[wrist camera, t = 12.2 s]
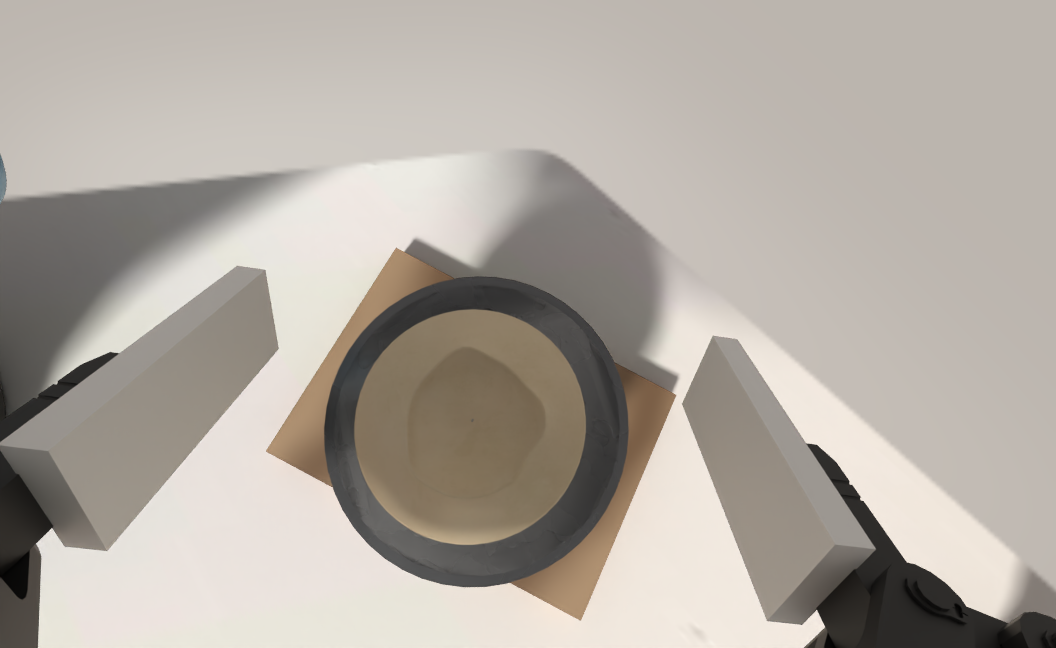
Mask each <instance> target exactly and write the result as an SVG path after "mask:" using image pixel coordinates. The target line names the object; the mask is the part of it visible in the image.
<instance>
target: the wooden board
mask: <svg viewBox="0 0 1056 648" xmlns="http://www.w3.org/2000/svg"><path fill="white" fill-rule="evenodd" d="M452 279H455V278H453V277H451V276H449V275H447V274H445V273H443V272H441V271H439V270H437V269H436V268H434V267H432V266H430V265H428V264H426V263H424V262H422V261H420V260H418V259H416V258H415V257H413V256H411V255H409V254H407V253H405V252H403V251H401V250H399V249H397V248H396V249H395V250H394V252H393V253H392V255H391V257H390V258H389V260H388V261H387V263H386V264H385V266H384V267H383V269H382V271H381V272H380V274H379V275H378V277H377V278H376V280H375V282H374V283H373V285H372V286H371V288H370V289H369V291H368V292H367V294H366V296H365V297H364V299H363V300H362V302H361V303H360V305H359V307H358V308H357V310H356V311H355V313H354V314H353V316H352V317H351V319H350V321H349V322H348V324H347V325H346V327H345V328H344V330H343V332H342V333H341V335H340V336H339V338H338V339H337V341H336V342H335V344H334V346H333V347H332V349H331V350H330V352H329V353H328V355H327V357H326V358H325V360H324V361H323V363H322V364H321V366H320V367H319V369H318V371H317V372H316V374H315V375H314V377H313V378H312V380H311V382H310V383H309V385H308V386H307V388H306V389H305V391H304V392H303V394H302V396H301V397H300V399H299V400H298V402H297V403H296V405H295V407H294V408H293V410H292V411H291V413H290V414H289V416H288V417H287V419H286V421H285V422H284V424H283V425H282V427H281V428H280V430H279V432H278V433H277V435H276V436H275V438H274V439H273V441H272V442H271V444H270V446H269V447H268V449H267V450H266V452H268V453H270V454H272V455H273V456H275V457H277V458H279V459H281V460H283V461H285V462H286V463H288V464H290V465H292V466H294V467H296V468H298V469H299V470H301V471H303V472H305V473H307V474H309V475H311V476H313V477H314V478H316V479H318V480H320V481H322V482H324V483H326V484H327V485H329V486H331V487H333V486H332V483H331V479H330V476H329V473H328V469H327V462H326V456H325V449H324V424H325V415H326V407H327V403H328V399H329V395H330V391H331V387H332V384H333V382H334V379H335V377H336V374H337V372H338V369H339V367H340V365H341V363H342V361H343V360H344V358H345V356H346V354H347V352H348V350H349V349H350V348H351V346H352V345H353V343H354V342H355V341H356V339H357V338H358V336H359V335H360V334H361V333H362V332H363V331H364V329H365V328H366V327H367V326H368V325H369V324H370V323H371V322H372V321H373V320H374V319H375V318H376V317H377V316H378V315H380V314H381V313H382V312H383V311H384V310H386V309H387V308H388V307H389V306H391V305H392V304H394V303H396V302H397V301H399V300H400V299H402V298H403V297H405V296H407V295H409V294H411V293H413V292H415V291H417V290H419V289H421V288H424V287H427V286H430V285H432V284H435V283H438V282H442V281H447V280H452ZM615 366H616V368H617V370H618V373H619V375H620V378H621V382H622V385H623V389H624V392H625V397H626V403H627V409H628V425H629V436H628V446H627V455H626V459H625V464H624V468H623V473H622V475H621V478H620V481H619V484H618V487H617V489H616V492H615V494H614V496H613V498H612V500H611V502H610V504H609V506H608V508H607V510H606V511H605V513H604V514H603V516H602V517H601V519H600V520H599V521H598V523H597V524H596V526H595V527H594V528H593V530H592V531H591V532H590V533H589V534H588V535H587V536H586V537H585V538H584V540H583V541H582V542H581V543H580V544H579V545H577V546H576V547H575V548H574V549H573V550H572V551H570V552H569V553H568V554H567V555H566V556H565V557H563V558H562V559H560V560H558V561H557V562H555V563H554V564H552V565H551V566H549V567H548V568H546V569H544V570H542V571H539V572H537V573H535V574H533V575H531V576H529V577H526V578H523V579H520V580H516V581H513V582H510V583H512V584H513V585H515V586H517V587H519V588H521V589H523V590H525V591H526V592H528V593H530V594H532V595H534V596H536V597H538V598H539V599H541V600H543V601H545V602H547V603H549V604H551V605H553V606H554V607H556V608H558V609H560V610H562V611H564V612H566V613H567V614H569V615H571V616H573V617H575V618H577V619H579V620H580V621H581V619H582V617H583V614H584V612H585V610H586V607H587V605H588V602H589V600H590V598H591V595H592V593H593V591H594V588H595V586H596V584H597V581H598V579H599V576H600V574H601V572H602V569H603V567H604V565H605V562H606V560H607V558H608V555H609V553H610V550H611V548H612V546H613V543H614V541H615V539H616V536H617V534H618V532H619V529H620V527H621V524H622V522H623V520H624V517H625V515H626V513H627V510H628V508H629V506H630V503H631V501H632V499H633V496H634V494H635V491H636V489H637V487H638V484H639V482H640V480H641V477H642V475H643V473H644V470H645V468H646V465H647V463H648V461H649V458H650V456H651V454H652V451H653V449H654V447H655V444H656V442H657V439H658V437H659V435H660V432H661V430H662V428H663V425H664V423H665V421H666V418H667V416H668V413H669V411H670V409H671V406H672V404H673V402H674V399H675V397H676V395H675V394H674V393H672V392H670V391H668V390H666V389H664V388H662V387H660V386H658V385H656V384H654V383H653V382H651V381H649V380H647V379H645V378H643V377H641V376H639V375H637V374H635V373H634V372H632V371H630V370H628V369H626V368H624V367H622V366H620V365H618V364H616V363H615Z"/></svg>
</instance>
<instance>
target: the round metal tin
mask: <svg viewBox="0 0 1056 648" xmlns="http://www.w3.org/2000/svg"><path fill="white" fill-rule="evenodd" d="M470 309H476V310H489V311H494V312H499V313H503V314H506V315H509V316H512V317H515V318H517V319H520V320H522V321H524V322H526V323H528V324H529V325H531V326H533V327H534V328H536V329H537V330H539V331H540V332H541V333H543V334H544V335H545V336H546V337H547V338H549V339H550V340H551V341H552V342H553V343H554V344H555V346H556V347H557V348H558V349H559V350H560V351H561V352H562V354H563V355H564V357H565V358H566V359H567V361H568V362H569V364H570V366H571V368H572V370H573V372H574V373H575V375H576V378H577V381H578V383H579V386H580V388H581V392H582V396H583V401H584V406H585V415H586V434H585V441H584V448H583V452H582V456H581V459H580V463H579V465H578V468H577V470H576V473H575V475H574V478H573V479H572V481H571V483H570V484H569V486H568V488H567V490H566V491H565V493H564V494H563V495H562V497H561V498H560V499H559V501H558V502H557V503H556V504H555V505H554V506H553V507H552V508H551V509H550V510H549V511H548V512H547V513H546V514H545V515H544V516H543V517H542V518H540V519H539V520H538V521H537V522H535V523H534V524H533V525H531V526H529V527H528V528H526V529H524V530H523V531H521V532H519V533H517V534H514V535H512V536H510V537H507V538H505V539H502V540H498V541H494V542H490V543H484V544H475V545H457V544H450V543H444V542H439V541H436V540H433V539H430V538H427V537H424V536H422V535H420V534H418V533H416V532H414V531H412V530H410V529H409V528H407V527H406V526H404V525H403V524H401V523H400V522H398V521H397V520H396V519H395V518H394V517H393V516H392V515H390V514H389V513H388V512H387V511H386V510H385V509H384V507H383V506H382V505H381V504H380V503H379V501H378V500H377V499H376V498H375V496H374V494H373V493H372V491H371V490H370V488H369V486H368V485H367V482H366V480H365V478H364V476H363V473H362V471H361V468H360V465H359V461H358V458H357V453H356V446H355V436H354V422H355V414H356V407H357V403H358V399H359V395H360V392H361V389H362V387H363V384H364V382H365V379H366V377H367V375H368V374H369V372H370V370H371V368H372V366H373V365H374V363H375V362H376V361H377V359H378V358H379V356H380V355H381V354H382V352H383V351H384V350H385V349H386V348H387V347H388V346H389V345H390V344H391V343H392V342H393V341H394V340H395V339H396V338H398V337H399V336H400V335H401V334H402V333H404V332H405V331H407V330H408V329H410V328H411V327H413V326H414V325H416V324H418V323H420V322H422V321H424V320H426V319H428V318H431V317H434V316H437V315H440V314H443V313H447V312H452V311H457V310H470ZM628 436H629V425H628V409H627V403H626V397H625V392H624V389H623V385H622V382H621V378H620V375H619V373H618V370H617V368H616V366H615V363H614V361H613V359H612V357H611V355H610V353H609V352H608V350H607V348H606V347H605V345H604V343H603V342H602V340H601V339H600V338H599V336H598V335H597V334H596V332H595V331H594V330H593V329H592V327H591V326H590V325H589V324H588V323H587V322H586V321H585V320H584V319H583V318H582V317H581V316H580V315H579V314H578V313H576V312H575V311H574V310H573V309H571V308H570V307H569V306H568V305H566V304H565V303H564V302H562V301H560V300H559V299H557V298H555V297H554V296H552V295H551V294H549V293H547V292H544V291H542V290H540V289H538V288H536V287H533V286H531V285H527V284H524V283H521V282H518V281H514V280H508V279H503V278H497V277H465V278H456V279H452V280H447V281H442V282H438V283H435V284H432V285H430V286H427V287H424V288H421V289H419V290H417V291H415V292H413V293H411V294H409V295H407V296H405V297H403V298H402V299H400V300H399V301H397V302H396V303H394V304H392V305H391V306H389V307H388V308H387V309H386V310H384V311H383V312H382V313H381V314H380V315H378V316H377V317H376V318H375V319H374V320H373V321H372V322H371V323H370V324H369V325H368V326H367V327H366V328H365V329H364V331H363V332H362V333H361V334H360V335H359V336H358V338H357V339H356V341H355V342H354V343H353V345H352V346H351V348H350V349H349V350H348V352H347V354H346V356H345V358H344V360H343V361H342V363H341V365H340V367H339V369H338V372H337V374H336V377H335V379H334V382H333V384H332V387H331V391H330V395H329V399H328V403H327V407H326V415H325V424H324V449H325V456H326V462H327V469H328V473H329V476H330V479H331V483H332V486H333V490H334V492H335V494H336V496H337V499H338V501H339V503H340V505H341V507H342V510H343V511H344V513H345V514H346V516H347V517H348V519H349V521H350V522H351V524H352V525H353V527H354V528H355V529H356V531H357V532H358V533H359V534H360V535H361V536H362V537H363V539H364V540H365V541H366V542H367V543H368V544H369V545H370V546H371V547H372V548H373V549H374V550H376V551H377V552H378V553H379V554H380V555H381V556H383V557H384V558H385V559H387V560H388V561H390V562H391V563H393V564H394V565H396V566H398V567H399V568H401V569H402V570H404V571H407V572H409V573H411V574H413V575H415V576H418V577H420V578H422V579H426V580H429V581H433V582H436V583H440V584H444V585H452V586H459V587H487V586H494V585H500V584H507V583H510V582H513V581H516V580H520V579H523V578H526V577H529V576H531V575H533V574H535V573H537V572H539V571H542V570H544V569H546V568H548V567H549V566H551V565H552V564H554V563H555V562H557V561H558V560H560V559H562V558H563V557H565V556H566V555H567V554H568V553H569V552H570V551H572V550H573V549H574V548H575V547H576V546H577V545H579V544H580V543H581V542H582V541H583V540H584V538H585V537H586V536H587V535H588V534H589V533H590V532H591V531H592V530H593V528H594V527H595V526H596V524H597V523H598V521H599V520H600V519H601V517H602V516H603V514H604V513H605V511H606V510H607V508H608V506H609V504H610V502H611V500H612V498H613V496H614V494H615V492H616V489H617V487H618V484H619V481H620V478H621V475H622V473H623V468H624V464H625V459H626V455H627V446H628Z"/></svg>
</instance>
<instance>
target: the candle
mask: <svg viewBox="0 0 1056 648" xmlns="http://www.w3.org/2000/svg"><path fill="white" fill-rule="evenodd" d="M585 434H586V415H585V406H584V401H583V396H582V392H581V388H580V386H579V383H578V381H577V378H576V375H575V373H574V372H573V370H572V368H571V366H570V364H569V362H568V361H567V359H566V358H565V357H564V355H563V354H562V352H561V351H560V350H559V349H558V348H557V347H556V346H555V344H554V343H553V342H552V341H551V340H550V339H549V338H547V337H546V336H545V335H544V334H543V333H541V332H540V331H539V330H537V329H536V328H534V327H533V326H531V325H529V324H528V323H526V322H524V321H522V320H520V319H517V318H515V317H512V316H509V315H506V314H503V313H499V312H494V311H489V310H476V309H470V310H457V311H452V312H447V313H443V314H440V315H437V316H434V317H431V318H428V319H426V320H424V321H422V322H420V323H418V324H416V325H414V326H413V327H411V328H410V329H408V330H407V331H405V332H404V333H402V334H401V335H400V336H399V337H398V338H396V339H395V340H394V341H393V342H392V343H391V344H390V345H389V346H388V347H387V348H386V349H385V350H384V351H383V352H382V354H381V355H380V356H379V358H378V359H377V361H376V362H375V363H374V365H373V366H372V368H371V370H370V372H369V374H368V375H367V377H366V379H365V382H364V384H363V387H362V389H361V392H360V395H359V399H358V403H357V407H356V414H355V422H354V436H355V446H356V453H357V458H358V461H359V465H360V468H361V471H362V473H363V476H364V478H365V480H366V482H367V485H368V486H369V488H370V490H371V491H372V493H373V494H374V496H375V498H376V499H377V500H378V501H379V503H380V504H381V505H382V506H383V507H384V509H385V510H386V511H387V512H388V513H389V514H390V515H392V516H393V517H394V518H395V519H396V520H397V521H398V522H400V523H401V524H403V525H404V526H406V527H407V528H409V529H410V530H412V531H414V532H416V533H418V534H420V535H422V536H424V537H427V538H430V539H433V540H436V541H439V542H444V543H450V544H457V545H475V544H484V543H490V542H494V541H498V540H502V539H505V538H507V537H510V536H512V535H514V534H517V533H519V532H521V531H523V530H524V529H526V528H528V527H529V526H531V525H533V524H534V523H535V522H537V521H538V520H539V519H540V518H542V517H543V516H544V515H545V514H546V513H547V512H548V511H549V510H550V509H551V508H552V507H553V506H554V505H555V504H556V503H557V502H558V501H559V499H560V498H561V497H562V495H563V494H564V493H565V491H566V490H567V488H568V486H569V484H570V483H571V481H572V479H573V478H574V475H575V473H576V470H577V468H578V465H579V463H580V459H581V456H582V452H583V448H584V441H585Z"/></svg>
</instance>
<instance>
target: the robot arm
mask: <svg viewBox="0 0 1056 648" xmlns="http://www.w3.org/2000/svg"><path fill="white" fill-rule="evenodd" d="M6 181H7V180H6V172H5V168H4V165H3V161H2V158H1V155H0V203H1V202H2V200H3V198H4V195H5V191H6ZM278 349H279V348H278V342H277V336H276V330H275V325H274V319H273V313H272V307H271V301H270V295H269V289H268V283H267V277H266V271H265V270H262V269H255V268H248V267H242V266H237V267H235V268H234V269H232V270H231V271H230V272H228V273H227V274H226V275H224V276H223V277H222V278H220V279H219V280H218V281H216V282H215V283H214V284H212V285H211V286H210V287H208V288H207V289H206V290H204V291H203V292H202V293H200V294H199V295H198V296H196V297H195V298H193V299H192V300H191V301H189V302H188V303H187V304H185V305H184V306H183V307H181V308H180V309H179V310H177V311H176V312H175V313H173V314H172V315H171V316H169V317H168V318H167V319H165V320H164V321H163V322H161V323H160V324H159V325H157V326H156V327H154V328H153V329H152V330H150V331H149V332H148V333H146V334H145V335H144V336H142V337H141V338H140V339H138V340H137V341H136V342H134V343H133V344H132V345H130V346H129V347H128V348H126V349H125V350H124V351H122V352H121V353H113V352H109V353H107V354H105V355H103V356H100V357H98V358H96V359H93V360H91V361H89V362H86V363H84V364H82V365H80V366H79V367H77V368H76V369H74V370H73V371H71V372H70V373H69V374H67V375H66V376H64V377H63V378H62V379H60V380H59V381H58V384H57V385H54V384H53V385H52V386H50V387H49V388H47V389H46V390H44V391H43V392H42V393H40V394H39V397H38V398H37V399H36V398H33V399H32V400H30V401H29V402H27V403H26V404H25V405H23V406H22V407H20V408H19V409H18V410H16V411H15V412H13V413H12V414H10V415H9V416H8V417H6V418H5V406H4V398H3V393H2V389H1V385H0V648H38V627H39V601H40V575H41V554H40V551H39V549H38V547H37V545H36V543H37V542H38V541H39V540H40V539H41V538H42V537H43V536H44V535H45V534H46V533H47V532H48V531H49V530H50V529H51V528H53V530H54V531H55V533H56V534H57V536H58V537H59V539H60V540H61V542H62V543H63V545H64V546H66V547H75V548H85V549H94V550H104V551H107V550H108V549H109V548H110V547H111V546H112V545H113V543H114V542H115V541H116V540H117V539H118V537H119V536H120V535H121V534H122V533H123V532H124V530H125V529H126V528H127V527H128V526H129V524H130V523H131V522H132V521H133V520H134V519H135V517H136V516H137V515H138V514H139V513H140V512H141V510H142V509H143V508H144V507H145V506H146V504H147V503H148V502H149V501H150V500H151V499H152V497H153V496H154V495H155V494H156V493H157V492H158V490H159V489H160V488H161V487H162V486H163V484H164V483H165V482H166V481H167V480H168V479H169V477H170V476H171V475H172V474H173V473H174V471H175V470H176V469H177V468H178V467H179V466H180V464H181V463H182V462H183V461H184V460H185V459H186V457H187V456H188V455H189V454H190V453H191V451H192V450H193V449H194V448H195V447H196V446H197V444H198V443H199V442H200V441H201V440H202V438H203V437H204V436H205V435H206V434H207V433H208V431H209V430H210V429H211V428H212V427H213V426H214V424H215V423H216V422H217V421H218V420H219V418H220V417H221V416H222V415H223V414H224V413H225V411H226V410H227V409H228V408H229V407H230V406H231V404H232V403H233V402H234V401H235V400H236V398H237V397H238V396H239V395H240V394H241V393H242V391H243V390H244V389H245V388H246V387H247V385H248V384H249V383H250V382H251V381H252V380H253V378H254V377H255V376H256V375H257V374H258V373H259V371H260V370H261V369H262V368H263V367H264V365H265V364H266V363H267V362H268V361H269V360H270V358H271V357H272V356H273V355H274V354H275V352H276V351H277V350H278ZM682 405H683V407H684V410H685V412H686V415H687V418H688V420H689V423H690V425H691V428H692V430H693V433H694V435H695V438H696V441H697V443H698V446H699V448H700V451H701V453H702V456H703V458H704V461H705V464H706V466H707V469H708V471H709V474H710V476H711V479H712V481H713V484H714V487H715V489H716V492H717V494H718V497H719V499H720V502H721V504H722V507H723V509H724V512H725V515H726V517H727V520H728V522H729V525H730V527H731V530H732V532H733V535H734V538H735V540H736V543H737V545H738V548H739V550H740V553H741V555H742V558H743V561H744V563H745V566H746V568H747V571H748V573H749V576H750V578H751V581H752V584H753V586H754V589H755V591H756V594H757V596H758V599H759V601H760V604H761V607H762V609H763V612H764V614H765V617H766V619H767V621H772V622H781V623H791V624H800V625H802V624H803V623H804V622H805V621H806V620H807V619H808V618H809V617H810V616H811V615H812V614H813V613H814V612H815V611H816V610H817V611H818V613H819V615H820V617H821V619H822V621H823V623H824V625H825V628H824V629H823V630H822V631H821V632H820V633H819V634H818V635H817V636H816V637H815V638H814V639H813V640H812V641H811V642H810V643H808V644H807V645H806V646H805V647H804V648H1056V620H1055V619H1053V618H1052V617H1049V616H1046V615H1043V614H1040V613H1037V612H1027V613H1023V614H1022V615H1020V616H1019V617H1017V618H1016V619H1014V620H1013V621H1011V622H1010V623H1006V622H1003V621H1001V620H998V619H996V618H993V617H991V616H988V615H986V614H983V613H981V612H979V611H976V610H974V609H971V608H969V607H966V605H965V604H964V602H963V601H962V599H961V598H960V597H959V596H958V595H957V594H956V593H955V592H954V591H953V590H952V589H951V588H950V587H949V586H948V585H947V584H946V583H945V582H943V581H942V580H941V579H939V578H938V577H937V576H935V575H934V574H932V573H931V572H929V571H927V570H925V569H923V568H921V567H919V566H917V565H915V564H911V563H907V562H906V561H905V559H904V558H903V557H902V555H901V554H900V552H899V551H898V550H897V548H896V547H895V545H894V544H893V542H892V541H891V540H890V538H889V537H888V535H887V534H886V532H885V531H884V530H883V528H882V527H881V525H880V524H879V522H878V521H877V520H876V518H875V517H874V515H873V514H872V513H871V511H870V510H869V508H868V507H867V505H866V504H865V503H864V501H861V500H860V495H859V494H858V493H857V491H856V490H855V488H854V487H853V485H850V484H849V480H848V478H847V477H846V476H845V474H844V473H843V471H842V470H841V468H840V467H839V466H838V464H837V463H836V462H835V461H834V460H833V459H832V458H831V457H830V456H829V455H828V454H826V453H825V452H824V451H823V450H822V449H821V448H820V447H819V446H818V445H814V444H806V443H805V441H804V440H803V438H802V437H801V435H800V433H799V432H798V430H797V429H796V427H795V426H794V424H793V423H792V421H791V420H790V418H789V417H788V415H787V414H786V412H785V411H784V409H783V408H782V406H781V405H780V403H779V402H778V400H777V399H776V397H775V396H774V394H773V393H772V391H771V390H770V388H769V387H768V385H767V384H766V382H765V381H764V379H763V378H762V376H761V374H760V373H759V371H758V370H757V368H756V367H755V365H754V364H753V362H752V361H751V359H750V358H749V356H748V355H747V353H746V352H745V350H744V349H743V347H742V346H741V344H740V343H739V341H738V340H737V339H731V338H724V337H717V336H713V337H712V339H711V341H710V343H709V346H708V348H707V350H706V352H705V354H704V357H703V359H702V361H701V363H700V366H699V368H698V370H697V372H696V374H695V377H694V379H693V381H692V383H691V385H690V388H689V390H688V392H687V394H686V397H685V399H684V401H683V403H682Z"/></svg>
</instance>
